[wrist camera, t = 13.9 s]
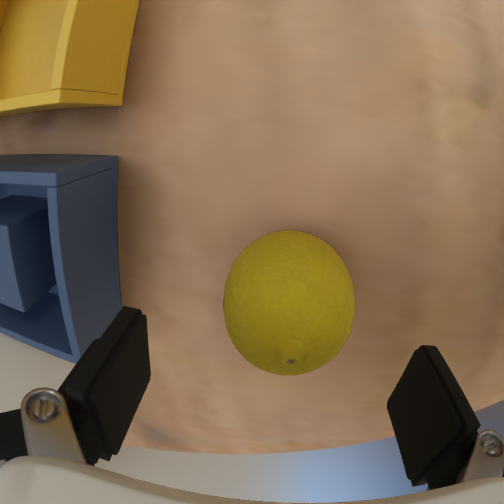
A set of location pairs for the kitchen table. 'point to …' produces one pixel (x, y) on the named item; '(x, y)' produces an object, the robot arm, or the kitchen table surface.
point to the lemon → (289, 303)
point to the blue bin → (69, 250)
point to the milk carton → (27, 371)
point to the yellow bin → (63, 53)
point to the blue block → (25, 251)
